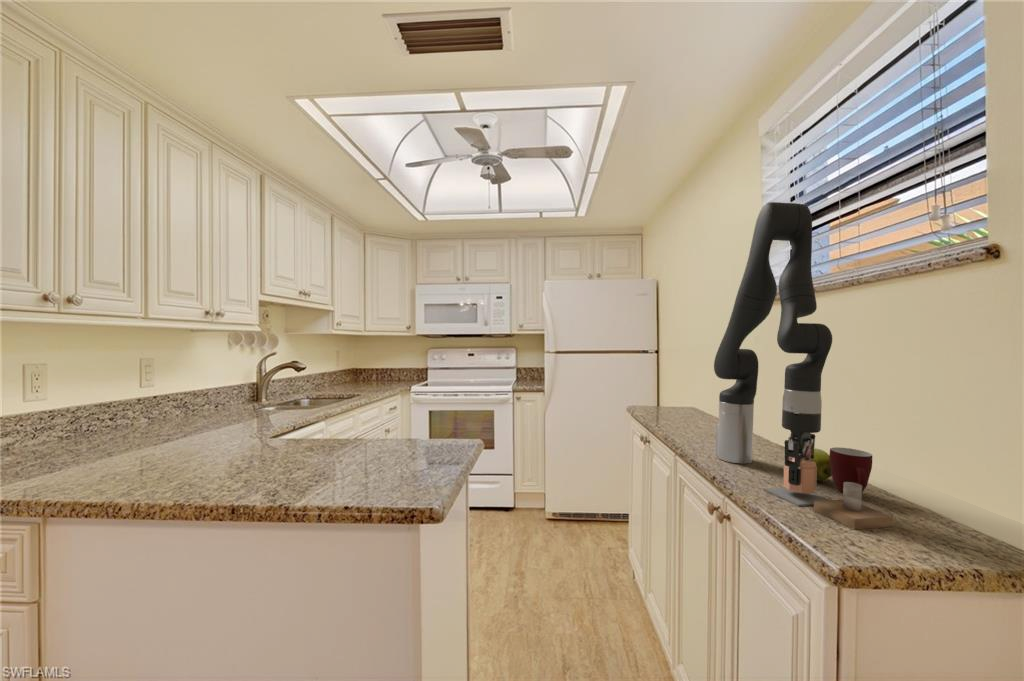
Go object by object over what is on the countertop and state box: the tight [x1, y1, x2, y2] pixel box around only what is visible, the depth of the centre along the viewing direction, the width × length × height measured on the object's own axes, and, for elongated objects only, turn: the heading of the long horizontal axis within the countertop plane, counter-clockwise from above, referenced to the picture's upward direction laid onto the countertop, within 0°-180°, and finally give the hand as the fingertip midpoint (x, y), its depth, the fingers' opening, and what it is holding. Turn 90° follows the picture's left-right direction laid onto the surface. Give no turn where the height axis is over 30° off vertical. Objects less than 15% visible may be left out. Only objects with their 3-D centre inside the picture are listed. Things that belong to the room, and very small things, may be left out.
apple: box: [811, 448, 832, 481], centre depth 114 cm, size 8×9×8 cm
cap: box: [782, 458, 818, 494], centre depth 101 cm, size 6×6×6 cm
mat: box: [763, 486, 831, 507], centre depth 101 cm, size 10×10×1 cm
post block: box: [813, 482, 893, 530], centre depth 90 cm, size 9×9×7 cm
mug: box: [829, 447, 873, 495], centre depth 103 cm, size 10×8×10 cm
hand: (798, 481), depth 101 cm, fingers closed on cap, 6 cm apart
